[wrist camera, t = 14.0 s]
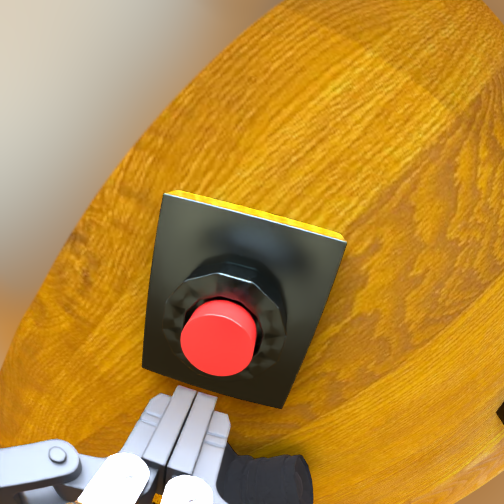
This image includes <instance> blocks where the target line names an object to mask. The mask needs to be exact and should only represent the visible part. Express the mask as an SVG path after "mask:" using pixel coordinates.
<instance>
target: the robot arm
mask: <svg viewBox="0 0 504 504" xmlns="http://www.w3.org/2000/svg"><path fill="white" fill-rule="evenodd" d="M217 398H218V397H215V396H212V395H208V394H205V393H202V392H198V394H197V391H195V390H192V389H189V388H186V387H183V386H180V385H178V386H177V388H176V389H175V391H174V393H173V395H172V397H171V396H168V395H165V394H162V393H160V394H158V395H157V396H155V397H154V398H152V399H151V400H150V401H149V403H148V405H147V406H146V408H145V410H144V412H143V413H142V415H141V417H140V419H139V420H138V422H137V423H136V425H135V427H134V429H133V430H132V432H131V434H130V436H129V437H128V439H127V441H126V442H125V444H124V446H123V448H122V449H121V450H120V451H119V452H118V453H117V454H114V455H112V456H110V457H105V458H99V457H93V456H88V455H83V454H78V452H77V450H76V449H75V448H74V447H73V446H72V445H71V444H70V443H68V442H66V441H64V440H59V439H52V440H47V441H42V442H37V443H32V444H26V445H20V446H14V447H8V448H1V449H0V504H151V502H152V500H153V497H154V495H155V493H157V494H160V495H163V498H162V501H161V504H228V503H226V502H225V501H224V500H223V499H222V498H221V497H220V495H219V494H218V491H217V488H216V481H217V477H218V473H219V469H220V466H221V462H222V458H223V454H224V450H225V446H226V443H227V439H228V435H229V431H230V427H231V425H230V421H229V417H228V414H225V413H221V412H218V411H214V409H215V406H216V402H217ZM164 490H165V491H164ZM163 492H164V494H163Z"/></svg>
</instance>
